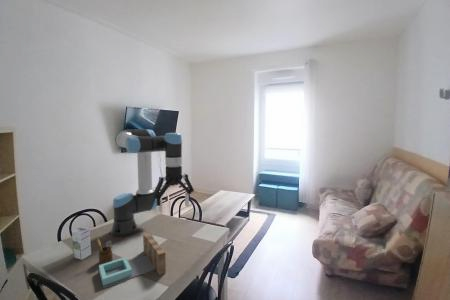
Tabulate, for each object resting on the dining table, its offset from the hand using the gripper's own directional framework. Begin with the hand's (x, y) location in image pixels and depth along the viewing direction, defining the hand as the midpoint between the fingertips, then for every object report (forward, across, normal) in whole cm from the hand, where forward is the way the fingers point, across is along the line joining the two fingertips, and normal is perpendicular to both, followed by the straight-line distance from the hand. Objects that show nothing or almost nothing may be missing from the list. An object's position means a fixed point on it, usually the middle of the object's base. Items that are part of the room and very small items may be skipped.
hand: (174, 208), depth 110 cm
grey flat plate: (+28, -21, +7) cm, 35 cm away
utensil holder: (+28, -28, +20) cm, 44 cm away
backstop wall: (+28, -8, +7) cm, 30 cm away
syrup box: (+28, -37, +32) cm, 56 cm away
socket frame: (+28, -26, +7) cm, 39 cm away
